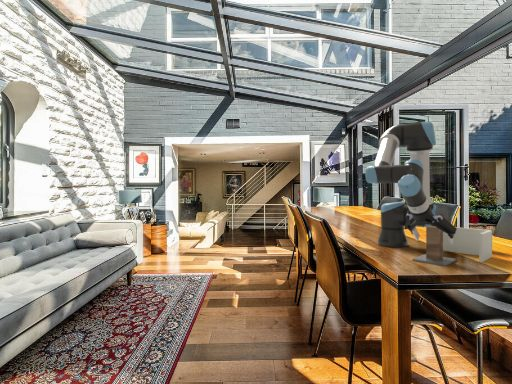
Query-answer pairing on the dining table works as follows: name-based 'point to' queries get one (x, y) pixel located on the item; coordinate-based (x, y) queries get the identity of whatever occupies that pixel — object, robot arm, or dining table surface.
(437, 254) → the walnut block
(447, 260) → the coaster
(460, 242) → the cubby
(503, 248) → the dining table surface
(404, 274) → the dining table surface
